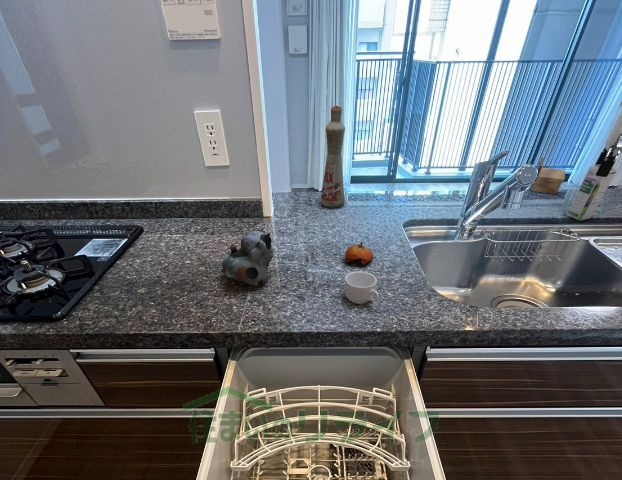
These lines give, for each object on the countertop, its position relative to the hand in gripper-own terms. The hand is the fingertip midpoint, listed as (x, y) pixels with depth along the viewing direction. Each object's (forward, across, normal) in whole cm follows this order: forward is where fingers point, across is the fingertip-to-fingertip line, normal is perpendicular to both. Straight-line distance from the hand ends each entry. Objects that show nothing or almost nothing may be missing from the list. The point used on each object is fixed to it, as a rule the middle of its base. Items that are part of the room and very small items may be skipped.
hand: (600, 171), depth 114 cm
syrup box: (+14, 0, -1) cm, 14 cm away
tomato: (+15, -61, +56) cm, 84 cm away
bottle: (+15, -24, +80) cm, 85 cm away
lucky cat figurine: (+15, -82, +80) cm, 116 cm away
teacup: (+15, -80, +48) cm, 94 cm away
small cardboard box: (+13, +26, +11) cm, 32 cm away
